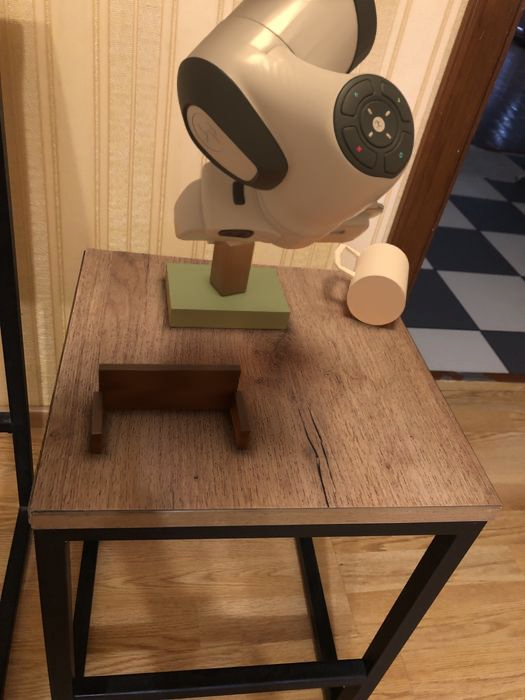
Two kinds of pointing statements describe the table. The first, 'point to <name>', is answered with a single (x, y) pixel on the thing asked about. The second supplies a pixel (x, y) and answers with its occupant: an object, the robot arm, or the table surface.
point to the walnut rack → (169, 392)
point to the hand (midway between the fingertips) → (252, 238)
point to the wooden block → (231, 266)
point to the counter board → (224, 300)
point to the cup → (376, 282)
